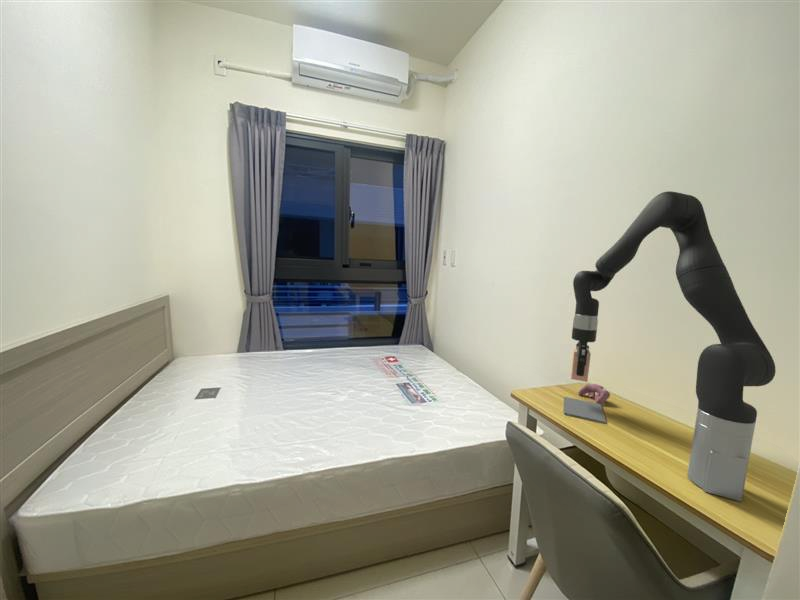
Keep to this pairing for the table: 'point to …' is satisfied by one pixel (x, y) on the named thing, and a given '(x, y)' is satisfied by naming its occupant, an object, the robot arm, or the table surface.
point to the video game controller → (591, 391)
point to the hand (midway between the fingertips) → (579, 373)
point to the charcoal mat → (584, 410)
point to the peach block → (574, 367)
